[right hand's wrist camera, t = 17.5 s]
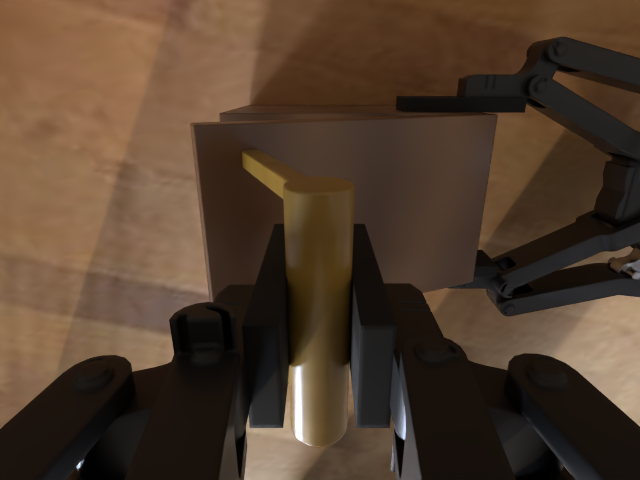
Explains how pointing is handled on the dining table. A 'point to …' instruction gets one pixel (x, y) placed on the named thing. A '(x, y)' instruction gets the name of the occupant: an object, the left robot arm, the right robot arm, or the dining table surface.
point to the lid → (340, 224)
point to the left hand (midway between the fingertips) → (394, 188)
